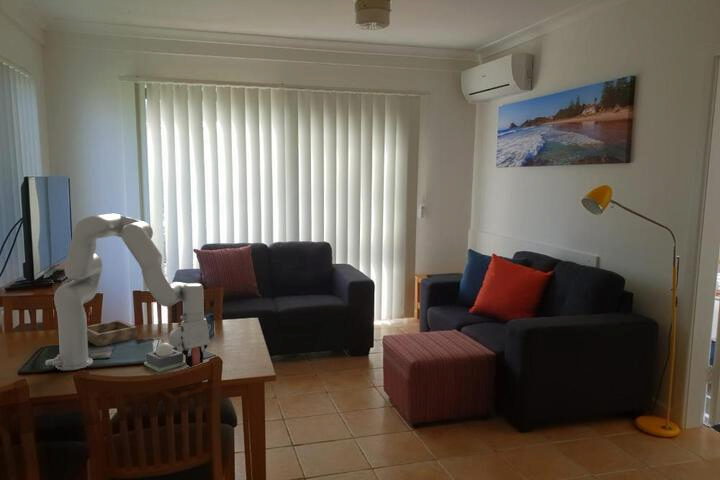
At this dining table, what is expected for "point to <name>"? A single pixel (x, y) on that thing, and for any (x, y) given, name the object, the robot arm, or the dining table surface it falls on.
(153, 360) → the popper base
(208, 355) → the coaster
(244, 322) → the dining table surface
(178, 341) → the die
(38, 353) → the dining table surface
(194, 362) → the pawn
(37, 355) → the dining table surface
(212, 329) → the vhs cassette tape
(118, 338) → the snack corral
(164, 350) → the popper dome
